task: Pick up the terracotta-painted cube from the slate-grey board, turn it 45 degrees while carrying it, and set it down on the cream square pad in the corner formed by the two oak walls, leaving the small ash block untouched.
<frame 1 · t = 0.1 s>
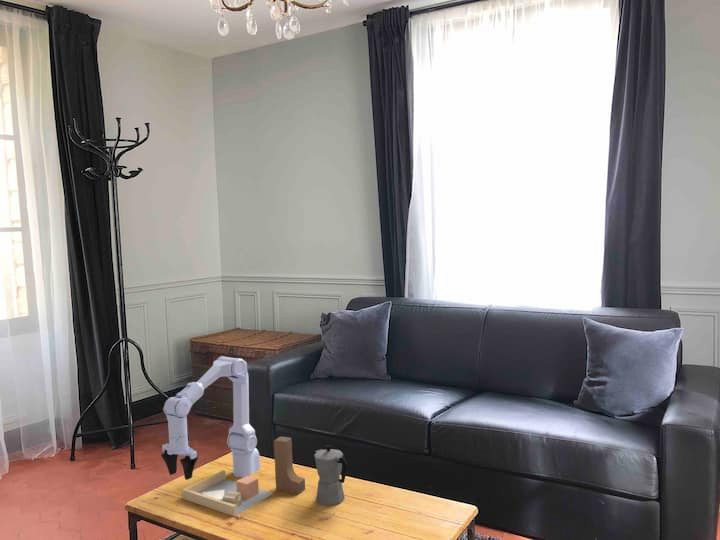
hand: (180, 476, 190), 10 cm above the table, tool pointing down, fingers open, 7 cm apart
arena board: (228, 498, 196), on the table
terracotta cube: (247, 494, 196), point 1 cm above the table, touching arena board
ash block: (232, 507, 187), point 1 cm above the table, touching arena board
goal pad: (213, 495, 196), resting on arena board
wooden block: (290, 492, 199), on the table
coffeepot: (332, 501, 191), on the table
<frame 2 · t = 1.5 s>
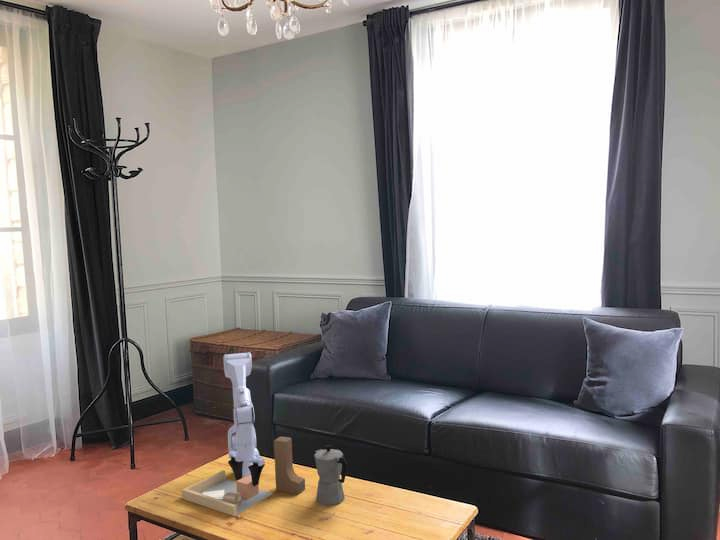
hand: (247, 482, 196), 5 cm above the table, tool pointing down, fingers open, 7 cm apart
nothing on the table moved.
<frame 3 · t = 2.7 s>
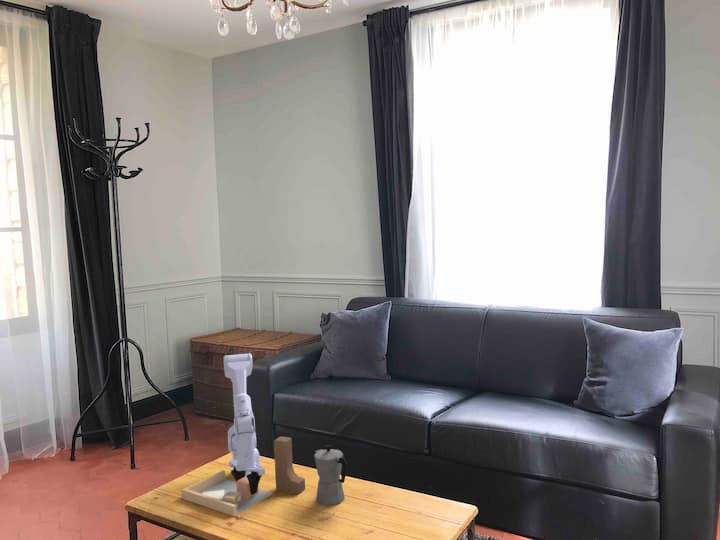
hand: (247, 491, 196), 2 cm above the table, tool pointing down, fingers closed on terracotta cube, 5 cm apart
terracotta cube: (247, 494, 196), point 1 cm above the table, touching arena board, gripper
everything else where it was.
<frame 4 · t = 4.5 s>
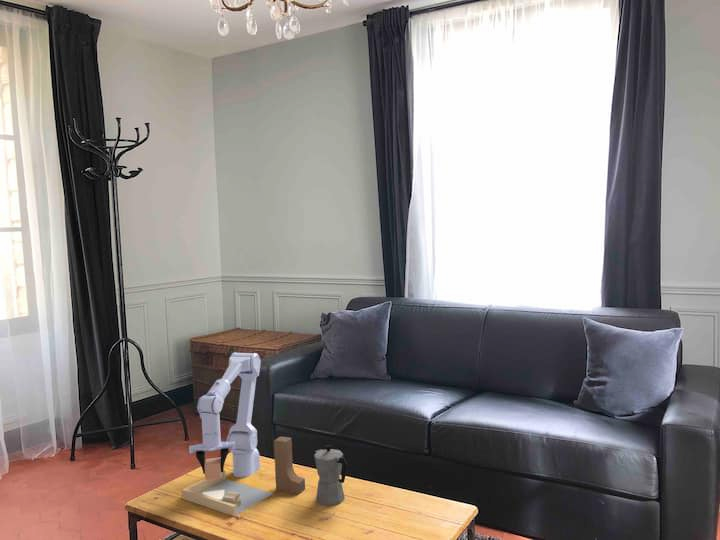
hand: (213, 471, 195), 9 cm above the table, tool pointing down, fingers closed on terracotta cube, 5 cm apart
terracotta cube: (213, 475, 195), point 8 cm above the table, touching gripper
everything else where it was.
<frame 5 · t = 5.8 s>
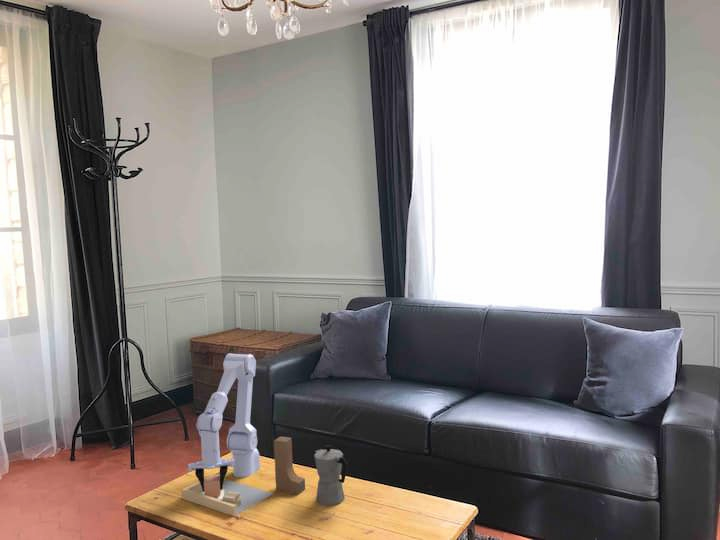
hand: (212, 489, 196), 3 cm above the table, tool pointing down, fingers closed on terracotta cube, 5 cm apart
terracotta cube: (212, 493, 196), point 2 cm above the table, touching gripper
everything else where it was.
when the fingers open (3 cm above the table, at t = 6.6 s): terracotta cube stays where it is, resting on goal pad.
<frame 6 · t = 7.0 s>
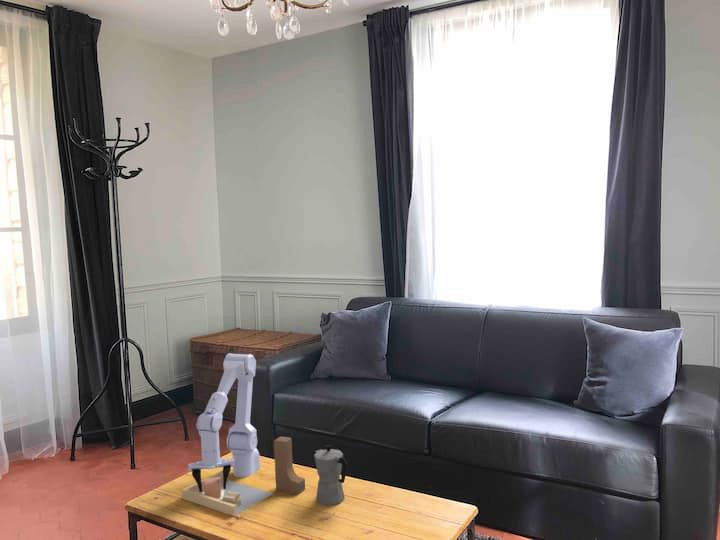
hand: (212, 489, 196), 3 cm above the table, tool pointing down, fingers open, 7 cm apart
terracotta cube: (213, 495, 196), point 1 cm above the table, touching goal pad
everything else where it was.
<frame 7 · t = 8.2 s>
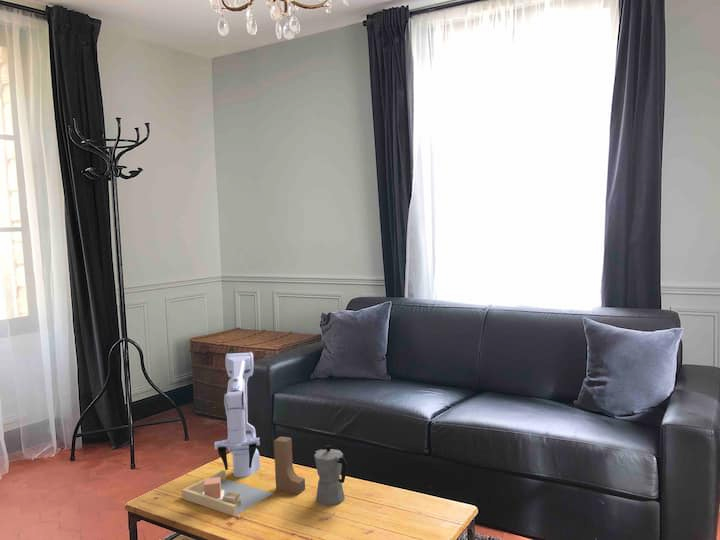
hand: (238, 467, 196), 10 cm above the table, tool pointing down, fingers open, 7 cm apart
nothing on the table moved.
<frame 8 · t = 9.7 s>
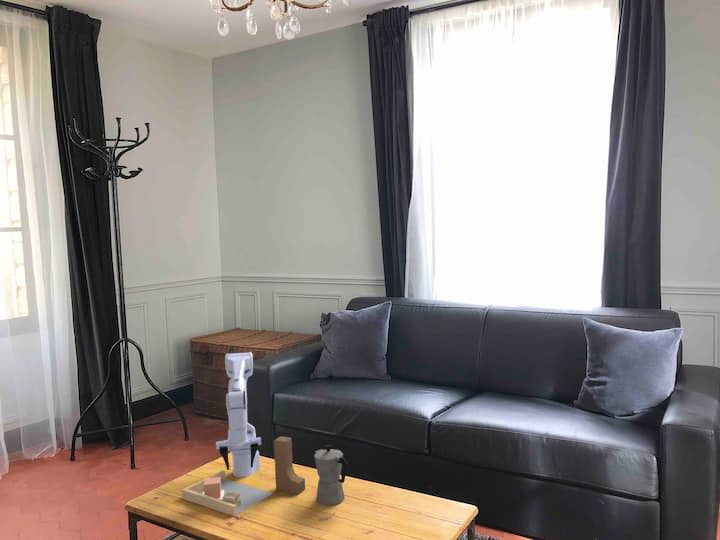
hand: (240, 467, 196), 10 cm above the table, tool pointing down, fingers open, 7 cm apart
nothing on the table moved.
at the end: terracotta cube 0.1 cm off-centre on the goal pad, point 0.2 cm above the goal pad's base; terracotta cube tilted 0°; the gripper is holding nothing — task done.
